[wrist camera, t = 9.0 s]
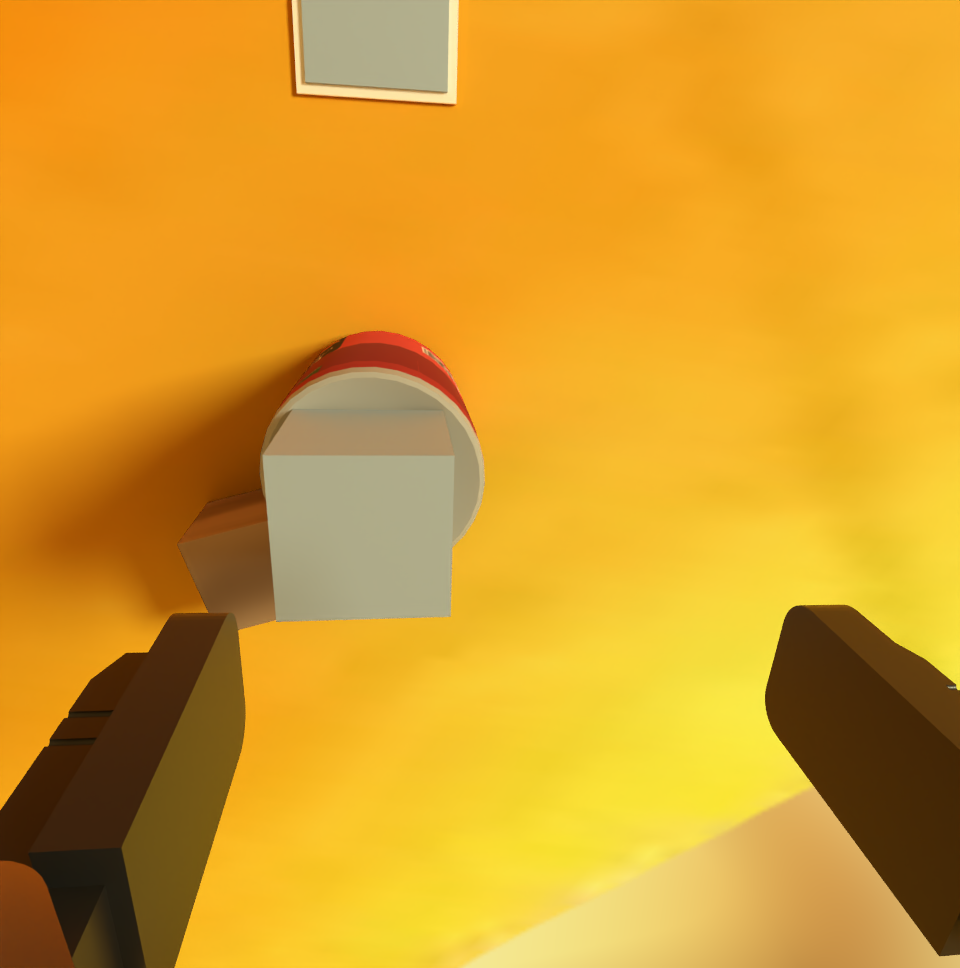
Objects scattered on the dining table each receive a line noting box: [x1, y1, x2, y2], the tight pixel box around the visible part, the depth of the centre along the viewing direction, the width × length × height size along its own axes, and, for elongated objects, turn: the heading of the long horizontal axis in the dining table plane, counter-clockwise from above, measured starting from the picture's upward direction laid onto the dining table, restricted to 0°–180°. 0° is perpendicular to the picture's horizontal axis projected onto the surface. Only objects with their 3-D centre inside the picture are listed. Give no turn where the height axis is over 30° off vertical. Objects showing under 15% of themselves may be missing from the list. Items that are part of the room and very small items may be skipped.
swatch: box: [292, 0, 458, 105], centre depth 27 cm, size 7×7×1 cm
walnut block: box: [177, 489, 276, 630], centre depth 32 cm, size 5×5×5 cm
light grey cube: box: [262, 409, 455, 622], centre depth 20 cm, size 5×5×5 cm
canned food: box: [260, 331, 485, 547], centre depth 28 cm, size 8×8×11 cm
